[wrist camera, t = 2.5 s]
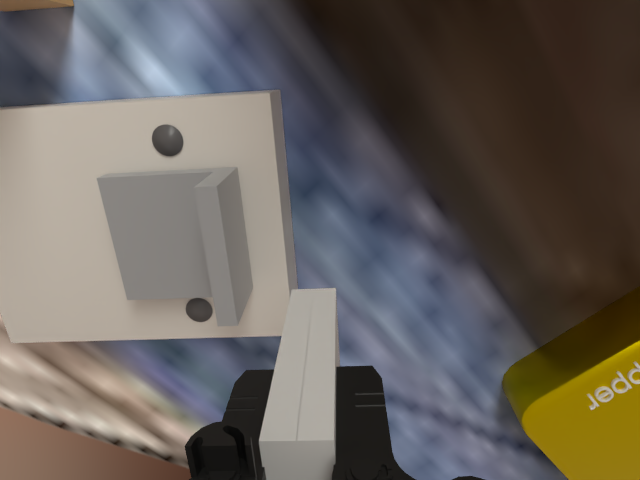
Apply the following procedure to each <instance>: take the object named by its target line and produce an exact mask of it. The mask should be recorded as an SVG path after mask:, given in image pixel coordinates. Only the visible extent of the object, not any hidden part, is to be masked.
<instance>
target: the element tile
mask: <svg viewBox="0 0 640 480" xmlns="http://www.w3.org/2000/svg"><path fill="white" fill-rule="evenodd" d="M502 385H503V390H504V392H505V394H506V396H507V398H508V400H509V402H510V404H511V406H512V408H513V410H514V412H515V414H516V416H517V418H518V420H519V422H520V424H521V426H522V428H523V430H524V432H525V433H526V434H527V435H528V437H529V438H530V439H531V440H532V441H533V442H534V443H535V444H536V445H537V446H538V447H539V448H540V449H541V450H542V452H543V453H544V454H545V455H546V456H547V457H548V458H549V459H550V460H551V461H552V462H553V463H554V464H555V465H556V467H557V468H558V469H559V470H560V471H561V472H562V473H563V474H564V475H565V476H566V477H567V478H568V479H569V480H640V286H639V287H638V288H636V289H635V290H633V291H631V292H630V293H628V294H626V295H625V296H623V297H622V298H620V299H618V300H617V301H615V302H613V303H612V304H610V305H609V306H607V307H605V308H604V309H602V310H600V311H599V312H597V313H596V314H594V315H592V316H591V317H589V318H587V319H586V320H584V321H583V322H581V323H579V324H578V325H576V326H574V327H573V328H571V329H570V330H568V331H566V332H565V333H563V334H561V335H560V336H558V337H557V338H555V339H553V340H552V341H550V342H548V343H547V344H545V345H544V346H542V347H540V348H539V349H537V350H535V351H534V352H532V353H531V354H529V355H527V356H526V357H524V358H523V359H521V360H519V361H518V362H516V363H515V364H514V365H512V366H511V367H510V368H509V369H508V371H507V372H506V373H505V374H504V377H503V381H502Z"/></svg>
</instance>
